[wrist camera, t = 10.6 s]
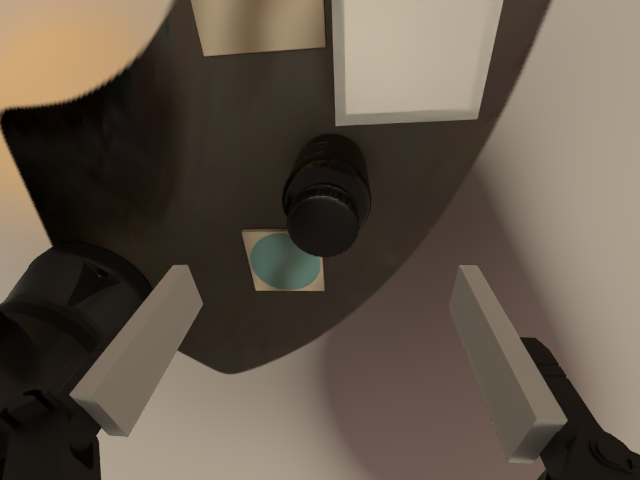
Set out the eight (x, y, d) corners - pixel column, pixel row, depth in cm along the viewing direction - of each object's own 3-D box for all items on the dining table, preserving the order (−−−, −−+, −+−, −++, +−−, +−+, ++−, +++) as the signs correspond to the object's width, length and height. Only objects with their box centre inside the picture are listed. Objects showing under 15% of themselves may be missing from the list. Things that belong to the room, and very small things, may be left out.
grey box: (339, 100, 26) (335, 126, 17) (336, -21, 21) (329, -64, 13) (433, 94, 25) (477, 119, 16) (450, -32, 20) (522, -86, 12)
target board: (257, 287, 39) (255, 291, 38) (243, 229, 34) (241, 232, 33) (324, 287, 38) (324, 291, 37) (320, 228, 33) (319, 231, 32)
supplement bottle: (379, 172, 29) (397, 238, 19) (327, 210, 32) (318, 285, 22) (335, 115, 26) (328, 157, 16) (282, 162, 29) (249, 223, 19)
